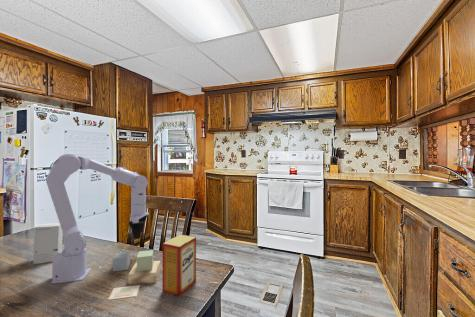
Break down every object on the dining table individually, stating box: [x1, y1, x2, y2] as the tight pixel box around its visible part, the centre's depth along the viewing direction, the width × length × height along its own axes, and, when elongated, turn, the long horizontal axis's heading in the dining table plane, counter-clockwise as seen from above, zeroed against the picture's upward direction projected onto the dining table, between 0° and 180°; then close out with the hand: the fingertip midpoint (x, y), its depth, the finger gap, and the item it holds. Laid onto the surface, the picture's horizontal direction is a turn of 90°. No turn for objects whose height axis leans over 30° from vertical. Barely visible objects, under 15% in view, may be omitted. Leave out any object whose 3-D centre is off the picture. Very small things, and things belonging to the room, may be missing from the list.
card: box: [108, 284, 141, 301], centre depth 74 cm, size 8×6×1 cm
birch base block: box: [127, 260, 162, 285], centre depth 84 cm, size 9×9×4 cm
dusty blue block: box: [112, 251, 131, 272], centre depth 90 cm, size 5×5×5 cm
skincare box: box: [32, 222, 63, 265], centre depth 96 cm, size 8×6×15 cm
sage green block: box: [136, 249, 154, 272], centre depth 83 cm, size 5×5×5 cm
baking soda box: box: [161, 234, 197, 297], centre depth 78 cm, size 10×6×16 cm
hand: (138, 235), depth 98 cm, fingers open, 7 cm apart
